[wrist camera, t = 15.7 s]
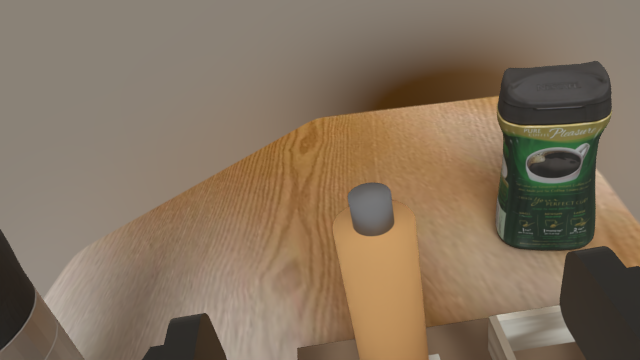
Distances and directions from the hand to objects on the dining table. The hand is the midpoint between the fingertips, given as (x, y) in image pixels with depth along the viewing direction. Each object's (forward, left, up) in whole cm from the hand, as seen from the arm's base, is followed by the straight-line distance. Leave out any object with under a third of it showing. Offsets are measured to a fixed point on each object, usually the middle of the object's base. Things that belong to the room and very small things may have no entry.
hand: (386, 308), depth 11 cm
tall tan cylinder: (-13, +7, -28) cm, 31 cm away
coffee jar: (-22, +32, -30) cm, 49 cm away
